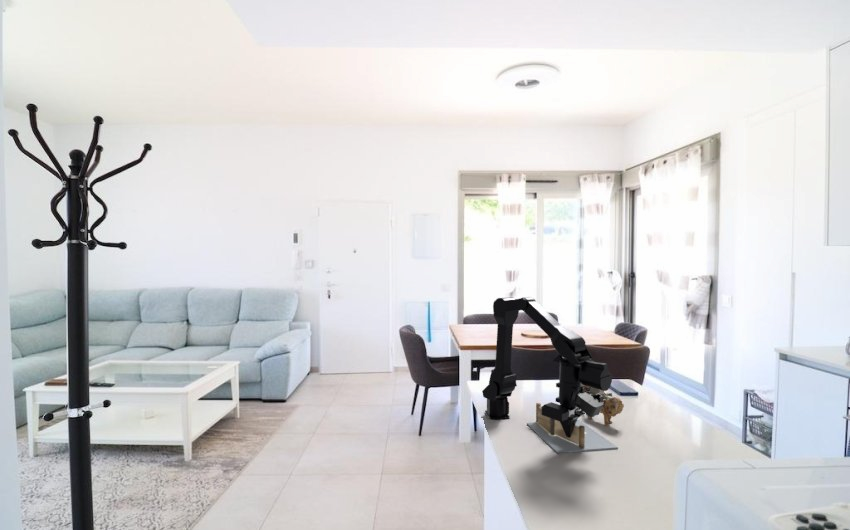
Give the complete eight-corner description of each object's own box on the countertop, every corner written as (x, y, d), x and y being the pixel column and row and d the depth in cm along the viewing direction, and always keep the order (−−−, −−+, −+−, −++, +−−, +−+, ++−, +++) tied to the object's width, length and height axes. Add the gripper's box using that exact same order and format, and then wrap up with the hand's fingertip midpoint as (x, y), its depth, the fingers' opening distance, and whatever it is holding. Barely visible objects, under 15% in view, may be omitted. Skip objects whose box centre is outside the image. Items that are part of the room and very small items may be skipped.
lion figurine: (626, 426, 119) (626, 397, 119) (618, 430, 116) (618, 401, 116) (583, 411, 131) (584, 385, 131) (574, 414, 128) (575, 388, 128)
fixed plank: (551, 436, 111) (551, 416, 111) (535, 422, 122) (535, 403, 122) (555, 436, 111) (556, 415, 111) (539, 421, 122) (539, 402, 122)
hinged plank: (554, 435, 111) (554, 416, 111) (557, 434, 111) (557, 415, 111) (582, 448, 103) (582, 427, 103) (585, 447, 104) (585, 426, 104)
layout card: (557, 453, 101) (557, 451, 101) (526, 423, 120) (526, 422, 120) (618, 448, 104) (618, 447, 104) (578, 420, 123) (578, 419, 123)
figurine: (623, 391, 138) (578, 392, 137) (623, 407, 138) (578, 408, 137) (595, 372, 158) (556, 373, 157) (595, 386, 158) (556, 387, 157)
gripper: (580, 395, 93) (578, 458, 93) (615, 383, 105) (613, 439, 104) (540, 383, 102) (539, 441, 102) (577, 373, 113) (576, 425, 113)
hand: (568, 437), depth 105 cm, fingers closed
